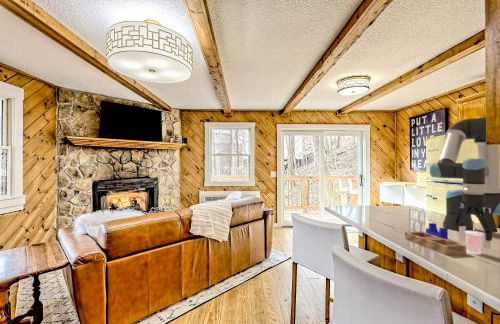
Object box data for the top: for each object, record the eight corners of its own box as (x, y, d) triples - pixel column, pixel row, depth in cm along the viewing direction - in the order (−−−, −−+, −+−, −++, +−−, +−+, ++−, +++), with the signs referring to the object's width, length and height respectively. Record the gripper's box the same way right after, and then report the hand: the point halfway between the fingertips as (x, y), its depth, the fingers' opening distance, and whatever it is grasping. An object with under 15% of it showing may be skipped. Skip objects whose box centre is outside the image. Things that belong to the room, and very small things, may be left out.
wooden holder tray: (405, 238, 135) (405, 232, 135) (422, 238, 137) (422, 231, 137) (445, 254, 112) (445, 246, 112) (466, 253, 113) (466, 245, 113)
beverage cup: (464, 249, 119) (464, 218, 119) (482, 252, 115) (482, 220, 115) (464, 253, 114) (464, 221, 114) (483, 256, 110) (483, 223, 110)
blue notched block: (425, 233, 146) (425, 223, 146) (434, 234, 145) (434, 223, 145) (437, 240, 134) (437, 228, 134) (447, 240, 133) (447, 228, 133)
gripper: (443, 190, 125) (443, 237, 125) (493, 196, 103) (493, 253, 103) (457, 190, 126) (457, 236, 126) (510, 196, 104) (510, 252, 104)
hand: (473, 244), depth 115 cm, fingers open, 10 cm apart
